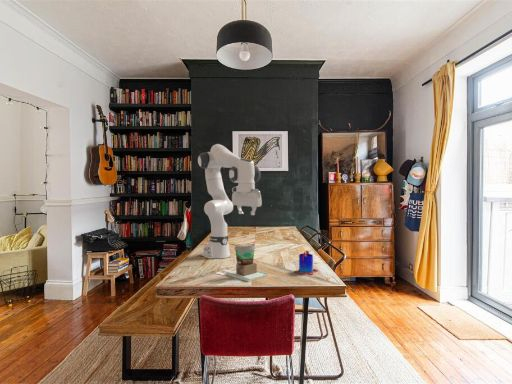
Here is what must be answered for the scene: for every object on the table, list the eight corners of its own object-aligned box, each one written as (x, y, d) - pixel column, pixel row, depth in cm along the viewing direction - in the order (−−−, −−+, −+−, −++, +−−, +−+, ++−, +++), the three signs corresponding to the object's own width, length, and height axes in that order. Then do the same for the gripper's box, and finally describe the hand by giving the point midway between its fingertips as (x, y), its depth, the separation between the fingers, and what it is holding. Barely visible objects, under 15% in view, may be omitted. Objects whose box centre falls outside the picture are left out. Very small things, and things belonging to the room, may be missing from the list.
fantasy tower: (312, 275, 168) (312, 253, 167) (292, 272, 173) (292, 251, 173) (319, 270, 178) (319, 249, 178) (299, 267, 184) (299, 247, 183)
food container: (240, 266, 162) (240, 247, 162) (234, 264, 167) (234, 245, 167) (259, 263, 169) (259, 245, 168) (253, 261, 174) (253, 243, 174)
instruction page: (214, 273, 172) (214, 272, 172) (225, 269, 179) (225, 269, 179) (223, 275, 169) (223, 274, 169) (233, 271, 176) (233, 270, 176)
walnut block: (236, 273, 167) (236, 264, 167) (248, 270, 174) (248, 261, 174) (244, 276, 163) (244, 266, 163) (256, 272, 169) (256, 263, 169)
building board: (226, 274, 170) (226, 271, 170) (245, 269, 179) (245, 267, 179) (248, 281, 157) (248, 279, 157) (267, 276, 167) (267, 273, 167)
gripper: (264, 188, 162) (264, 215, 162) (238, 188, 176) (238, 212, 177) (255, 189, 157) (255, 216, 158) (230, 188, 172) (230, 213, 172)
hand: (246, 214), depth 167 cm, fingers open, 8 cm apart
